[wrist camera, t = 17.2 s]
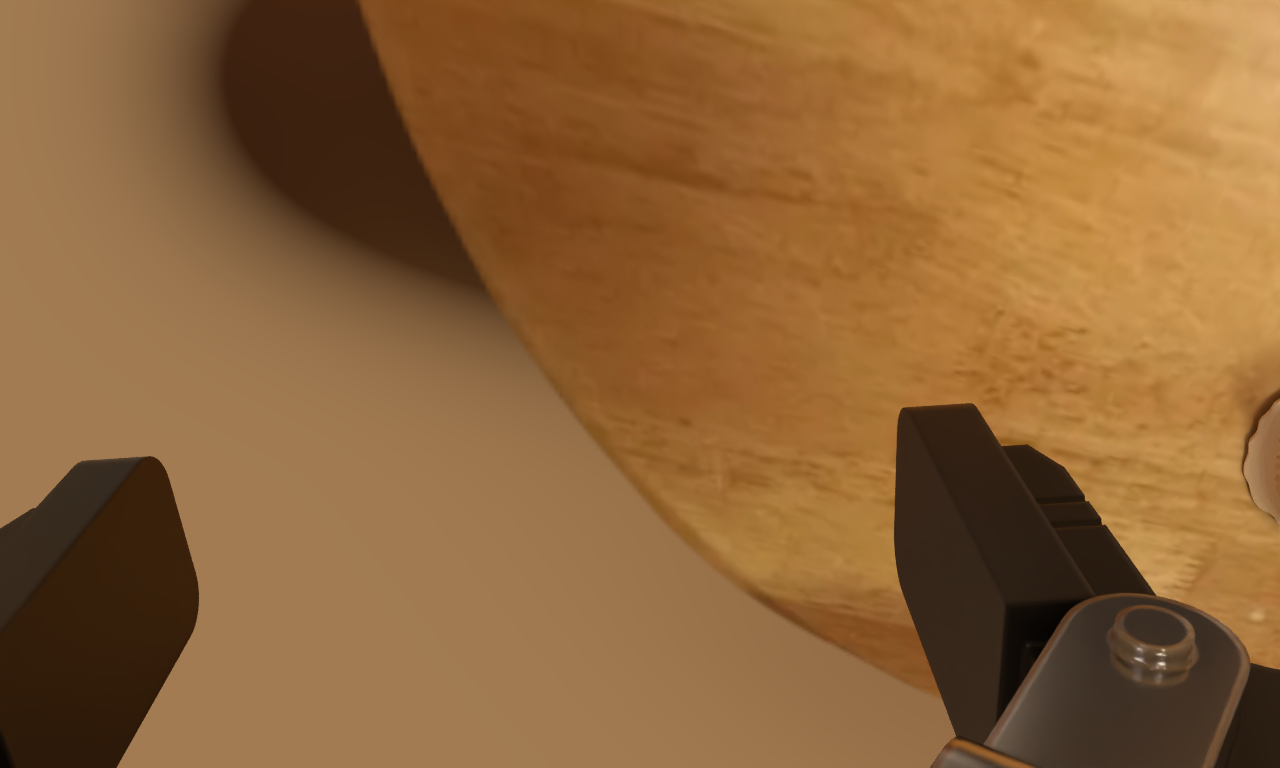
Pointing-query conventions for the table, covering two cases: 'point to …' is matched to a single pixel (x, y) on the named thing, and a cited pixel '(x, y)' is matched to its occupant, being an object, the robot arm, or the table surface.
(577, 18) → the table surface
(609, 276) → the table surface
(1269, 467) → the decorative ornament
